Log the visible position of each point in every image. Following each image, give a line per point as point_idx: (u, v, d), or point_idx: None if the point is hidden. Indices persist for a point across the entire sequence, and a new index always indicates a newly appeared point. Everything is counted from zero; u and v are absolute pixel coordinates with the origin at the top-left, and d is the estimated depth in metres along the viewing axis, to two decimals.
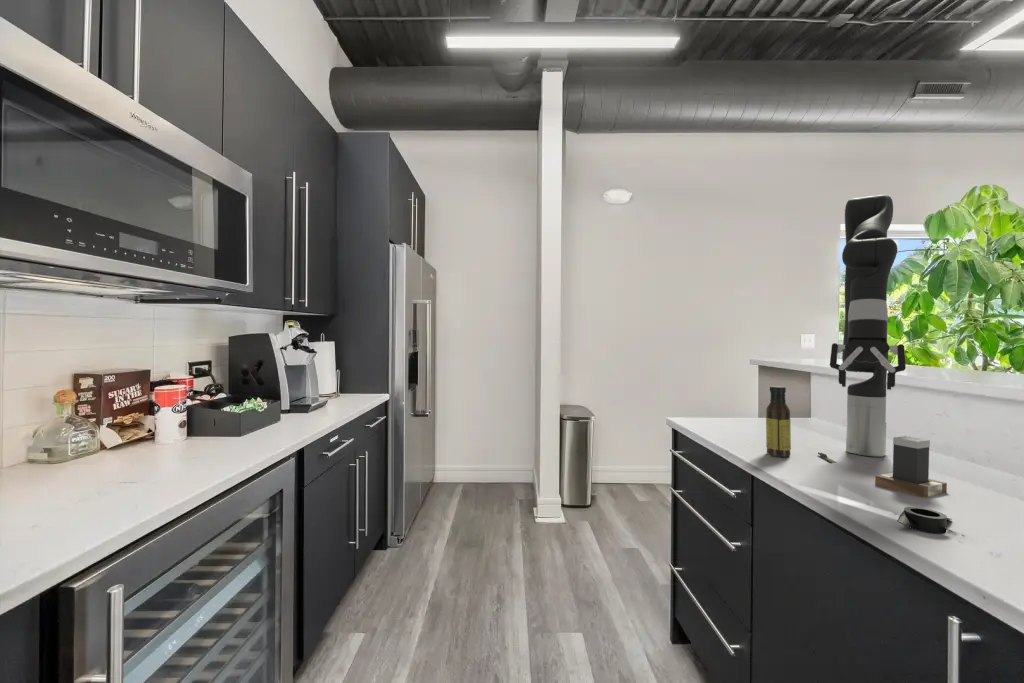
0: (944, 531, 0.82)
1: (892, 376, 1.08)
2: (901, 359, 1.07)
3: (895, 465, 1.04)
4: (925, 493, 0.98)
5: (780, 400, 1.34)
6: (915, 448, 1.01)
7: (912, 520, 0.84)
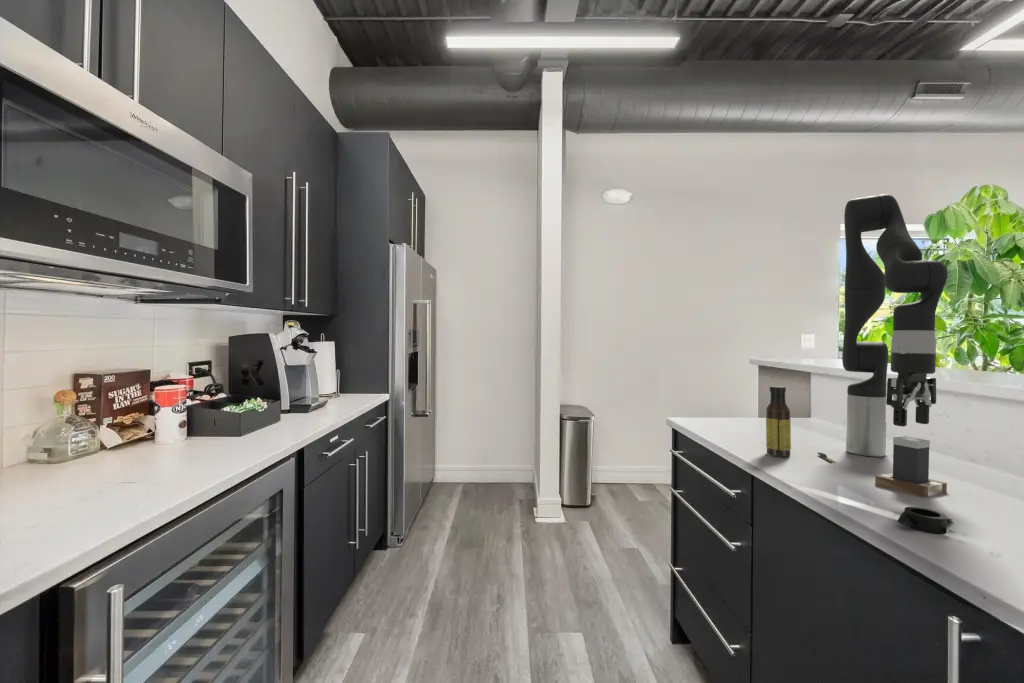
0: (944, 531, 0.82)
1: None
2: (934, 393, 1.05)
3: (895, 465, 1.04)
4: (925, 493, 0.98)
5: (780, 400, 1.34)
6: (915, 448, 1.01)
7: (912, 520, 0.84)
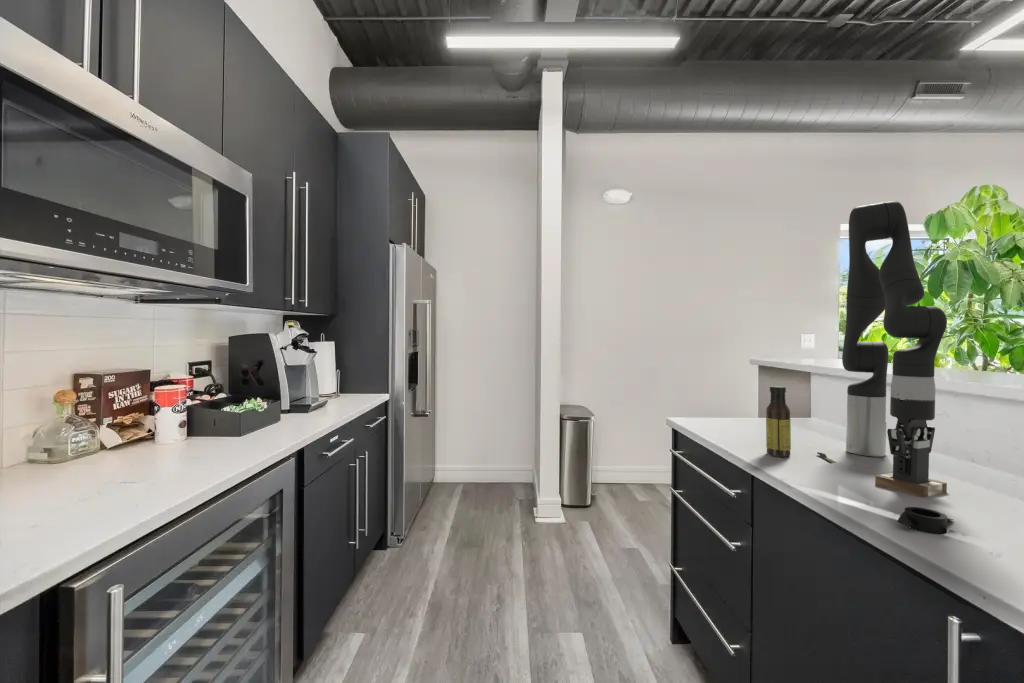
0: (945, 531, 0.82)
1: None
2: (931, 442, 1.05)
3: (895, 465, 1.04)
4: (925, 493, 0.98)
5: (780, 400, 1.34)
6: (915, 448, 1.01)
7: (912, 520, 0.84)
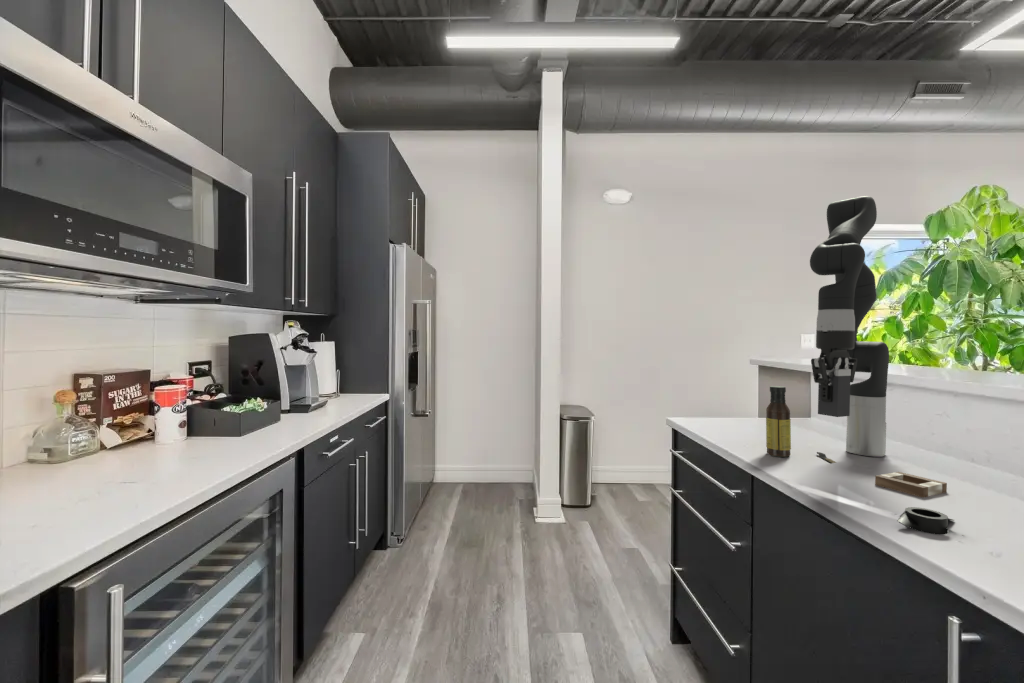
0: (945, 532, 0.82)
1: None
2: (853, 372, 1.12)
3: (820, 393, 1.12)
4: (925, 493, 0.98)
5: (780, 400, 1.34)
6: (836, 375, 1.08)
7: (912, 520, 0.84)
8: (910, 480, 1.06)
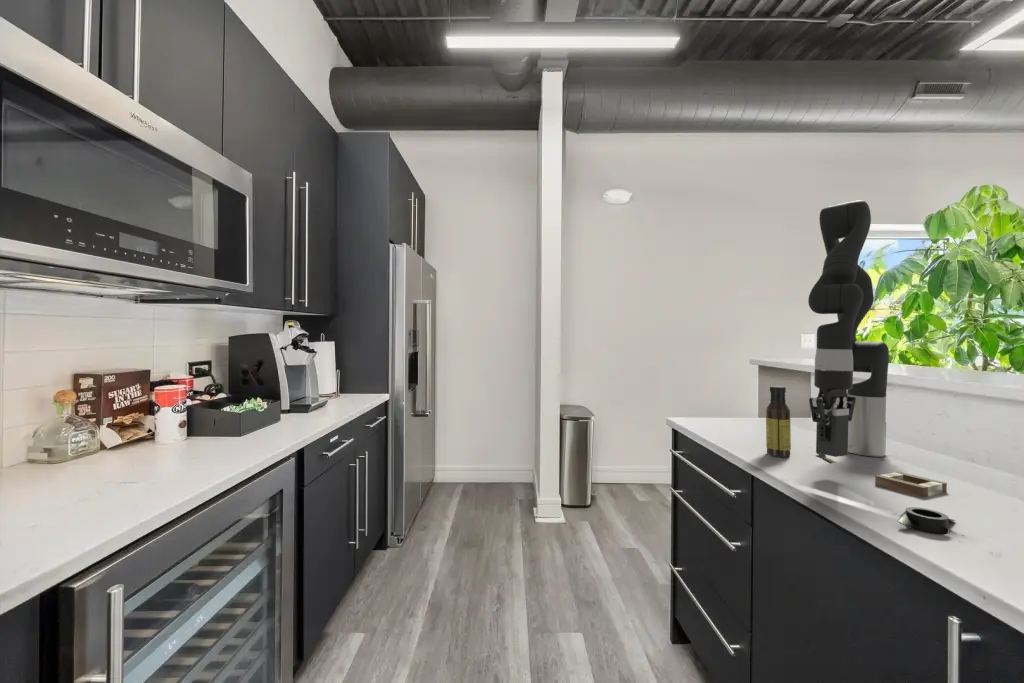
0: (945, 532, 0.82)
1: None
2: (851, 411, 1.12)
3: (818, 432, 1.12)
4: (925, 493, 0.98)
5: (780, 400, 1.34)
6: (834, 415, 1.09)
7: (913, 520, 0.84)
8: (910, 480, 1.06)
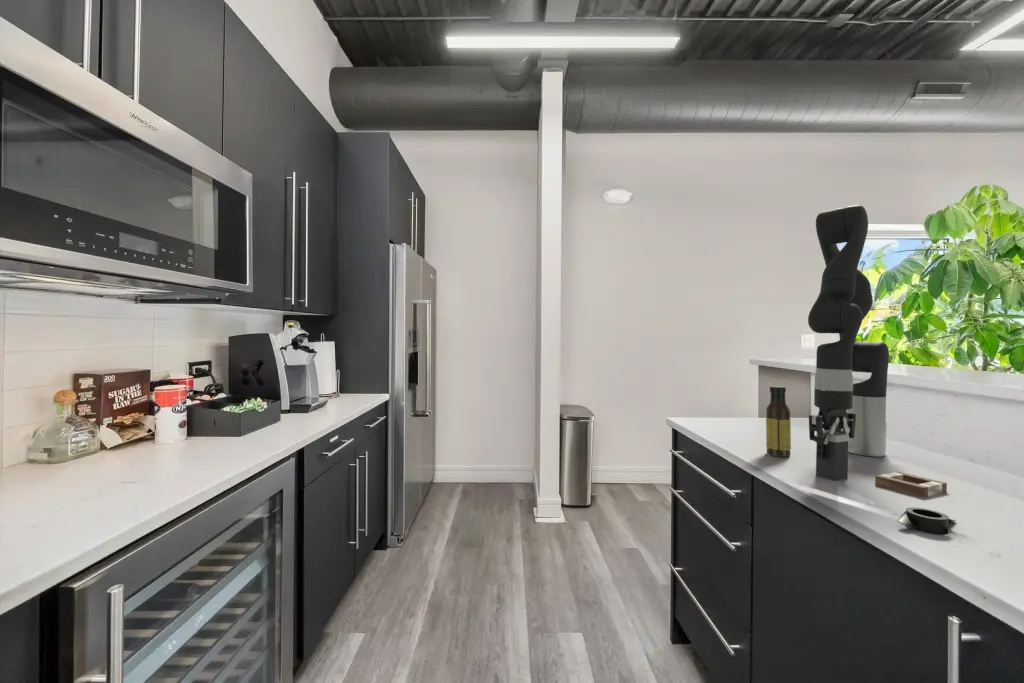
0: (945, 532, 0.82)
1: None
2: (853, 428, 1.13)
3: None
4: (925, 493, 0.98)
5: (780, 400, 1.34)
6: (834, 441, 1.09)
7: (913, 520, 0.84)
8: (910, 480, 1.06)
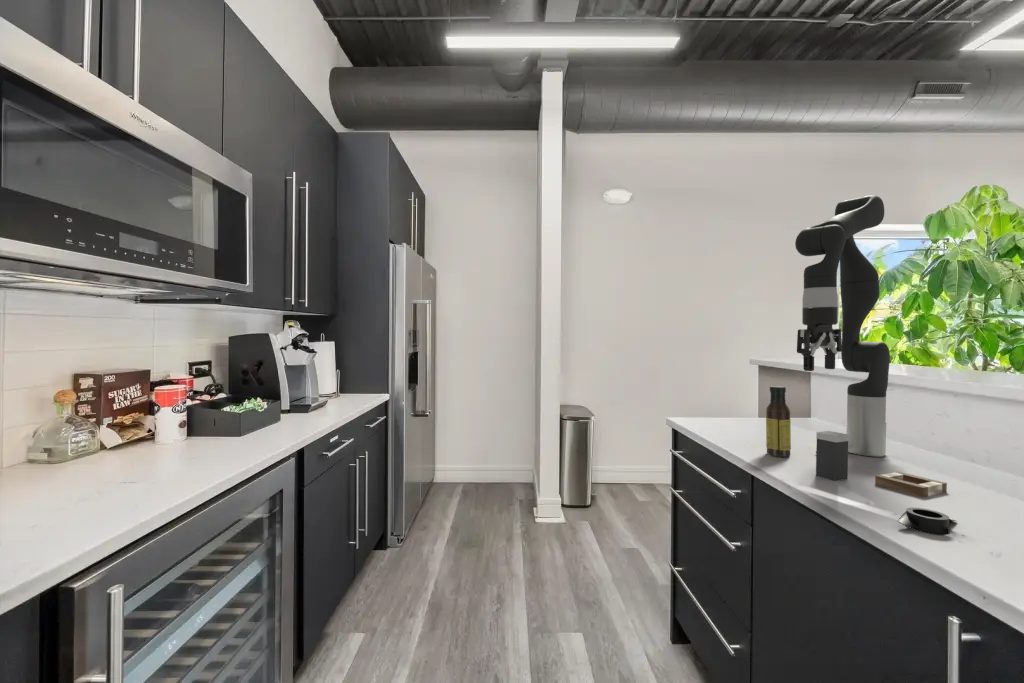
0: (946, 532, 0.82)
1: None
2: (839, 342, 1.21)
3: (818, 458, 1.12)
4: (925, 493, 0.98)
5: (780, 400, 1.34)
6: (834, 441, 1.09)
7: (913, 520, 0.84)
8: (910, 480, 1.06)
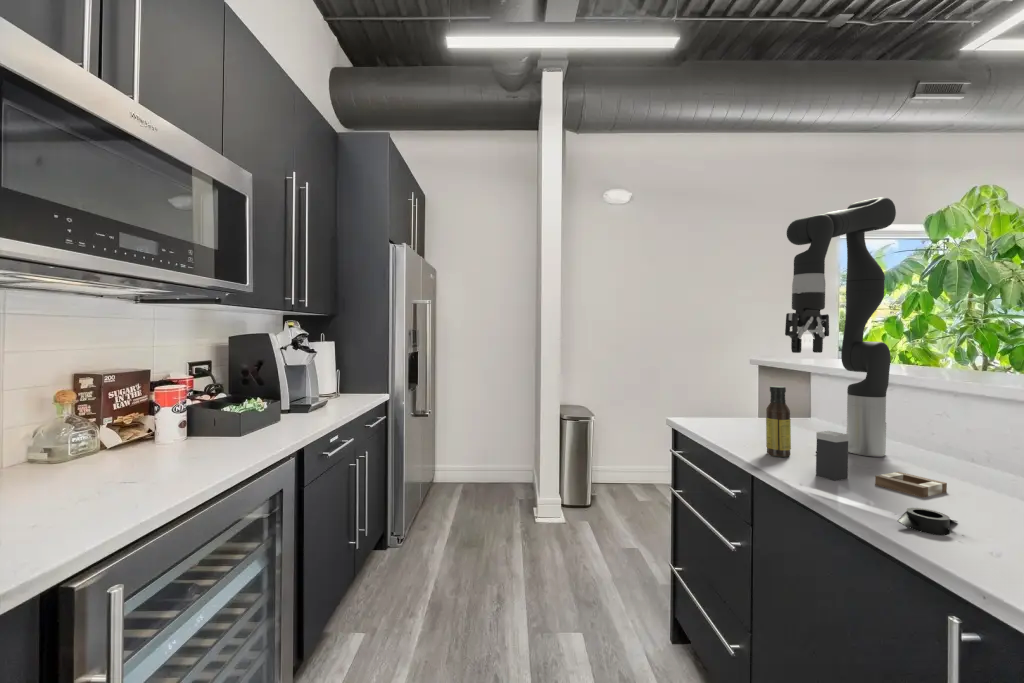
0: (946, 532, 0.81)
1: None
2: (827, 327, 1.27)
3: (818, 458, 1.12)
4: (925, 493, 0.98)
5: (780, 400, 1.34)
6: (834, 441, 1.09)
7: (913, 521, 0.84)
8: (910, 480, 1.06)
